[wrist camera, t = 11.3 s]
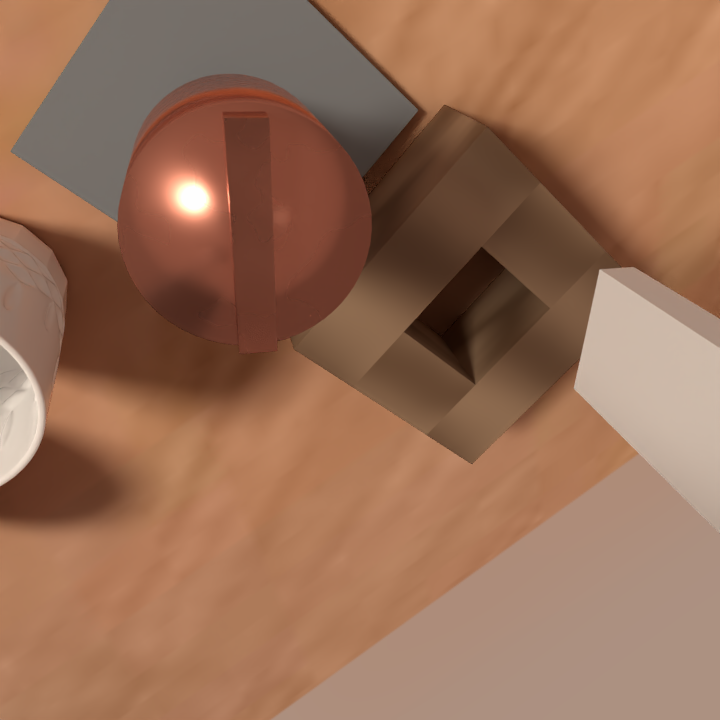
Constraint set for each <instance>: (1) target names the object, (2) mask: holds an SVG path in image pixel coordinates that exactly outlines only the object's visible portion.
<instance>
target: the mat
mask: <svg viewBox="0 0 720 720" xmlns="http://www.w3.org/2000/svg"><path fill="white" fill-rule="evenodd" d="M215 74H242V75H248V76H253V77H257V78H260V79H263V80H266V81H269V82H272V83H273V84H275V85H277V86H279V87H281V88H283V89H285V90H286V91H288V92H289V93H290V94H292V95H293V96H295V97H296V98H297V99H298V100H299V101H300V102H301V103H303V104H304V105H305V106H306V107H307V108H308V109H309V111H310V112H311V113H312V114H313V115H314V116H315V117H316V118H317V119H318V120H319V121H320V123H321V124H322V125H323V126H324V127H325V128H326V129H327V130H328V131H329V132H330V134H331V135H332V136H333V137H334V138H335V139H336V140H337V141H338V142H339V143H340V145H341V146H342V147H343V148H344V149H345V151H346V152H347V153H348V154H349V156H350V157H351V159H352V160H353V162H354V164H355V165H356V167H357V168H358V170H359V173H360V175H361V177H362V178H363V176H364V175H365V174H366V173H367V172H368V170H369V169H370V168H371V167H372V166H373V164H374V163H375V162H376V161H377V160H378V158H379V157H380V156H381V155H382V154H383V152H384V151H385V150H386V149H387V148H388V146H389V145H390V144H391V143H392V141H393V140H394V139H395V138H396V137H397V135H398V134H399V133H400V132H401V131H402V129H403V128H404V127H405V126H406V125H407V123H408V122H409V121H410V120H411V119H412V117H413V116H414V115H415V114H416V113H417V111H418V109H417V108H416V107H415V106H414V105H413V104H412V103H411V102H410V101H409V100H408V99H407V98H406V97H405V96H404V95H403V94H401V93H400V92H399V91H398V90H397V89H396V88H395V87H394V86H393V85H392V84H391V83H390V82H389V81H388V80H387V79H386V78H385V77H384V76H383V75H382V74H381V73H380V72H379V71H378V70H377V69H376V68H375V67H374V66H373V65H372V64H371V63H370V62H369V61H368V60H367V59H366V58H365V57H364V56H363V55H362V54H361V53H360V52H359V51H358V50H357V49H356V48H355V47H354V46H353V45H352V44H351V43H350V42H349V41H348V40H347V39H346V38H345V37H344V36H343V35H342V34H341V33H340V32H339V31H338V30H337V29H336V28H335V27H334V26H333V25H332V24H331V23H330V22H329V21H328V20H327V19H326V18H325V17H324V16H323V15H322V14H321V13H320V12H319V11H318V10H317V9H316V8H315V7H313V6H312V5H311V4H310V3H309V2H308V1H307V0H109V2H108V3H107V5H106V6H105V8H104V10H103V11H102V13H101V14H100V16H99V17H98V19H97V20H96V22H95V23H94V25H93V26H92V28H91V29H90V31H89V32H88V34H87V35H86V37H85V38H84V40H83V41H82V43H81V45H80V46H79V48H78V49H77V51H76V52H75V54H74V55H73V57H72V58H71V60H70V61H69V63H68V64H67V66H66V67H65V69H64V70H63V72H62V73H61V75H60V76H59V78H58V80H57V81H56V83H55V84H54V86H53V87H52V89H51V90H50V92H49V93H48V95H47V96H46V98H45V99H44V101H43V102H42V104H41V105H40V107H39V108H38V110H37V112H36V113H35V115H34V116H33V118H32V119H31V121H30V122H29V124H28V125H27V127H26V128H25V130H24V131H23V133H22V134H21V136H20V137H19V139H18V140H17V142H16V143H15V145H14V147H13V148H12V150H11V151H10V152H12V153H13V154H15V155H16V156H18V157H19V158H21V159H22V160H24V161H26V162H27V163H29V164H30V165H32V166H33V167H35V168H36V169H38V170H39V171H41V172H42V173H44V174H45V175H47V176H48V177H50V178H51V179H53V180H54V181H56V182H57V183H59V184H60V185H62V186H64V187H65V188H67V189H68V190H70V191H71V192H73V193H74V194H76V195H77V196H79V197H80V198H82V199H83V200H85V201H86V202H88V203H89V204H91V205H92V206H94V207H95V208H97V209H99V210H100V211H102V212H103V213H105V214H106V215H108V216H109V217H111V218H112V219H114V220H115V221H118V207H119V202H120V197H121V193H122V189H123V185H124V181H125V177H126V173H127V169H128V165H129V161H130V158H131V154H132V150H133V146H134V143H135V140H136V137H137V134H138V132H139V130H140V128H141V126H142V124H143V122H144V120H145V119H146V117H147V116H148V115H149V113H150V112H151V111H152V109H153V108H154V107H155V106H156V105H157V104H158V103H159V102H160V101H161V100H162V99H163V98H164V97H165V96H167V95H168V94H169V93H171V92H172V91H173V90H175V89H176V88H178V87H180V86H182V85H184V84H186V83H187V82H190V81H193V80H196V79H198V78H201V77H206V76H211V75H215Z"/></svg>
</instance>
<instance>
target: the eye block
mask: <svg viewBox="0 0 720 720" xmlns="http://www.w3.org/2000/svg"><path fill="white" fill-rule="evenodd" d="M368 197H369V202H370V208H371V216H372V232H371V241H370V247H369V251H368V256H367V259H366V262H365V265H364V267H363V270H362V272H361V274H360V276H359V278H358V280H357V282H356V284H355V286H354V287H353V289H352V290H351V291H350V293H349V294H348V296H347V297H346V298H345V299H344V301H343V302H342V303H341V304H340V305H339V306H338V307H337V308H336V309H335V310H334V311H333V312H332V313H331V314H329V315H328V316H327V317H326V318H325V319H323V320H322V321H320V322H319V323H318V324H316V325H315V326H313V327H311V328H309V329H308V330H306V331H304V332H302V333H300V334H297V335H295V336H292V337H290V338H291V341H292V344H293V348H294V350H296V351H297V352H299V353H301V354H302V355H304V356H305V357H307V358H308V359H310V360H311V361H313V362H314V363H316V364H318V365H319V366H321V367H322V368H324V369H325V370H327V371H328V372H330V373H331V374H333V375H335V376H336V377H338V378H339V379H341V380H342V381H344V382H345V383H347V384H348V385H350V386H352V387H353V388H355V389H356V390H358V391H359V392H361V393H362V394H364V395H365V396H367V397H369V398H370V399H372V400H373V401H375V402H376V403H378V404H379V405H381V406H382V407H384V408H386V409H387V410H389V411H390V412H392V413H393V414H395V415H396V416H398V417H399V418H401V419H403V420H404V421H406V422H407V423H409V424H410V425H412V426H413V427H415V428H417V429H418V430H420V431H421V432H423V433H424V434H426V435H427V436H429V437H430V438H432V439H434V440H435V441H437V442H438V443H440V444H441V445H443V446H444V447H446V448H447V449H449V450H451V451H452V452H454V453H455V454H457V455H458V456H460V457H461V458H463V459H464V460H466V461H468V462H469V463H471V464H473V463H474V462H475V461H476V460H477V459H478V458H479V457H480V456H481V455H482V454H483V453H484V452H485V451H486V450H487V449H488V448H489V447H490V446H491V445H492V444H493V443H494V442H495V441H496V440H497V439H498V438H499V437H500V436H501V435H502V434H503V433H504V432H505V431H506V430H507V429H508V428H509V427H510V426H511V425H512V424H513V423H514V422H515V421H516V420H517V419H519V418H520V417H521V416H522V415H523V414H524V413H525V412H526V411H527V410H528V409H529V408H530V407H531V406H532V405H533V404H534V403H535V402H536V401H537V400H538V399H539V398H540V397H541V396H542V395H543V394H544V393H545V392H546V391H547V390H548V389H549V388H550V387H551V386H552V385H553V384H554V383H555V382H556V381H557V380H558V379H559V378H560V377H561V376H562V375H563V374H564V373H565V372H566V371H567V370H568V369H569V368H570V367H571V366H572V365H574V364H575V363H576V362H577V361H578V360H579V359H580V358H581V353H582V349H583V344H584V339H585V335H586V330H587V326H588V321H589V316H590V312H591V307H592V302H593V298H594V293H595V289H596V284H597V279H598V275H599V270H600V269H611V268H622V267H621V266H620V265H619V264H618V263H617V262H616V261H615V260H614V259H613V258H612V257H611V256H610V255H609V254H608V253H607V252H606V251H605V250H604V248H603V247H602V246H601V245H600V244H599V243H598V242H597V241H596V240H595V239H594V238H593V237H592V236H591V235H590V234H589V233H588V232H587V231H586V230H585V229H584V228H583V226H582V225H581V224H580V223H579V222H578V221H577V220H576V219H575V218H574V217H573V216H572V215H571V214H570V213H569V212H568V211H567V210H566V209H565V208H564V207H563V205H562V204H561V203H560V202H559V201H558V200H557V199H556V198H555V197H554V196H553V195H552V194H551V193H550V192H549V191H548V190H547V189H546V188H545V187H544V186H543V185H542V183H541V182H540V181H539V180H538V179H537V178H536V177H535V176H534V175H533V174H532V173H531V172H530V171H529V170H528V169H527V168H526V167H525V166H524V165H523V164H522V163H521V161H520V160H519V159H518V158H517V157H516V156H515V155H514V154H513V153H512V152H511V151H510V150H509V149H508V148H507V147H506V146H505V145H504V144H503V143H502V142H501V140H500V139H499V138H498V137H497V136H496V135H495V134H494V133H493V132H492V131H491V130H490V129H489V128H488V127H487V126H485V125H483V124H481V123H479V122H477V121H475V120H473V119H471V118H469V117H467V116H465V115H463V114H461V113H459V112H457V111H455V110H453V109H451V108H450V107H448V106H446V105H444V106H443V107H442V108H441V109H440V111H439V112H438V113H437V114H436V115H435V117H434V118H433V119H432V120H431V121H430V123H429V124H428V125H427V126H426V127H425V129H424V130H423V131H422V132H421V133H420V134H419V136H418V137H417V138H416V139H415V140H414V142H413V143H412V144H411V145H410V146H409V148H408V149H407V150H406V151H405V152H404V154H403V155H402V156H401V157H400V158H399V159H398V161H397V162H396V163H395V164H394V165H393V167H392V168H391V169H390V170H389V171H388V173H387V174H386V175H385V176H384V177H383V179H382V180H381V181H380V182H379V183H378V184H377V186H376V187H375V188H374V189H373V190H372V192H371V193H370V194H369V195H368ZM481 247H483V248H484V249H485V250H486V251H487V252H488V253H489V254H491V255H492V256H493V257H494V258H495V259H496V260H497V261H498V262H499V263H500V264H502V265H503V266H504V267H505V269H504V270H503V272H502V273H501V274H500V275H499V276H498V277H497V278H496V279H495V280H494V281H493V282H492V283H491V284H490V285H489V286H488V288H487V289H486V290H485V291H484V292H483V293H482V294H481V295H480V296H479V297H478V298H477V299H476V300H475V301H474V302H473V304H472V305H471V306H470V307H469V308H468V309H467V310H466V311H465V312H464V313H463V314H462V315H461V316H460V317H459V318H458V320H457V321H456V322H455V323H454V324H453V325H452V326H451V327H450V328H449V329H448V330H447V331H446V332H445V333H444V335H443V336H442V337H441V336H439V335H438V334H437V333H436V332H434V331H433V330H432V329H430V328H429V327H428V326H426V325H425V324H424V323H422V322H421V321H420V320H419V319H417V317H418V316H419V315H420V314H421V312H422V311H423V310H424V309H425V308H426V307H427V306H428V305H429V304H430V303H431V302H432V300H433V299H434V298H435V297H436V296H437V295H438V294H439V293H440V292H441V291H442V290H443V288H444V287H445V286H446V285H447V284H448V283H449V282H450V281H451V280H452V279H453V278H454V276H455V275H456V274H457V273H458V272H459V271H460V270H461V269H462V268H463V267H464V266H465V264H466V263H467V262H468V261H469V260H470V259H471V258H472V257H473V256H474V255H475V253H476V252H477V251H478V250H479V249H480V248H481Z"/></svg>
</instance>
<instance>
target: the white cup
mask: <svg viewBox="0 0 720 720" xmlns="http://www.w3.org/2000/svg"><path fill="white" fill-rule="evenodd" d="M66 308H67V279H66V277H65V275H64V273H63V271H62V268H61V266H60V264H59V262H58V260H57V258H56V256H55V254H54V252H53V250H52V249H51V248H49V247H48V246H47V245H46V244H45V243H43V242H42V241H41V240H40V239H39V238H37V237H36V236H35V235H34V234H33V233H31V232H30V231H29V230H28V229H27V228H25V227H24V226H23V225H20V224H17V223H14V222H11V221H8V220H5V219H2V218H0V486H2V485H3V484H5V483H7V482H8V481H9V480H11V479H12V478H14V477H15V476H16V475H17V474H18V473H20V472H21V471H22V470H23V469H24V468H25V467H26V465H27V464H28V463H29V462H30V460H31V459H32V458H33V456H34V455H35V453H36V451H37V450H38V448H39V446H40V443H41V441H42V438H43V434H44V430H45V426H46V421H47V416H48V411H49V406H50V402H51V397H52V393H53V388H54V384H55V379H56V374H57V370H58V365H59V357H60V352H61V346H62V340H63V335H64V328H65V315H66Z"/></svg>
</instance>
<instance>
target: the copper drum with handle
mask: <svg viewBox="0 0 720 720" xmlns="http://www.w3.org/2000/svg"><path fill="white" fill-rule="evenodd" d="M117 227H118V239H119V245H120V249H121V253H122V258H123V260H124V263H125V265H126V268H127V271H128V273H129V275H130V277H131V279H132V280H133V282H134V284H135V286H136V287H137V289H138V290H139V291H140V293H141V294H142V296H143V297H144V298H145V300H146V301H147V302H148V303H149V304H150V305H151V306H152V307H153V308H154V309H155V310H156V311H157V312H158V313H159V314H161V315H162V316H163V317H164V318H166V319H167V320H168V321H170V322H171V323H173V324H174V325H176V326H178V327H179V328H181V329H182V330H185V331H187V332H189V333H191V334H193V335H195V336H198V337H201V338H204V339H207V340H210V341H214V342H219V343H224V344H233V345H238V346H239V352H240V354H247V353H259V352H271V351H277V341H280V340H284V339H287V338H290V337H292V336H295V335H297V334H300V333H302V332H304V331H306V330H308V329H309V328H311V327H313V326H315V325H316V324H318V323H319V322H320V321H322V320H323V319H325V318H326V317H327V316H328V315H329V314H331V313H332V312H333V311H334V310H335V309H336V308H337V307H338V306H339V305H340V304H341V303H342V302H343V301H344V299H345V298H346V297H347V296H348V294H349V293H350V291H351V290H352V289H353V287H354V286H355V284H356V282H357V280H358V278H359V276H360V274H361V272H362V270H363V267H364V265H365V262H366V259H367V256H368V251H369V247H370V241H371V232H372V216H371V208H370V202H369V197H368V194H367V190H366V187H365V184H364V181H363V179H362V177H361V175H360V173H359V170H358V168H357V167H356V165H355V164H354V162H353V160H352V159H351V157H350V156H349V154H348V153H347V152H346V151H345V149H344V148H343V147H342V146H341V145H340V143H339V142H338V141H337V140H336V139H335V138H334V137H333V136H332V135H331V134H330V132H329V131H328V130H327V129H326V128H325V127H324V126H323V125H322V124H321V123H320V121H319V120H318V119H317V118H316V117H315V116H314V115H313V114H312V113H311V112H310V111H309V109H308V108H307V107H306V106H305V105H304V104H303V103H301V102H300V101H299V100H298V99H297V98H296V97H295V96H293V95H292V94H290V93H289V92H288V91H286V90H285V89H283V88H281V87H279V86H277V85H275V84H273V83H272V82H269V81H266V80H263V79H260V78H257V77H253V76H248V75H242V74H215V75H211V76H206V77H201V78H198V79H196V80H193V81H190V82H187V83H186V84H184V85H182V86H180V87H178V88H176V89H175V90H173V91H172V92H171V93H169V94H168V95H167V96H165V97H164V98H163V99H162V100H161V101H160V102H159V103H158V104H157V105H156V106H155V107H154V108H153V109H152V111H151V112H150V113H149V115H148V116H147V117H146V119H145V120H144V122H143V124H142V126H141V128H140V130H139V132H138V134H137V137H136V140H135V143H134V146H133V150H132V154H131V158H130V161H129V165H128V169H127V173H126V177H125V181H124V185H123V189H122V193H121V197H120V202H119V207H118V221H117Z"/></svg>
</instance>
